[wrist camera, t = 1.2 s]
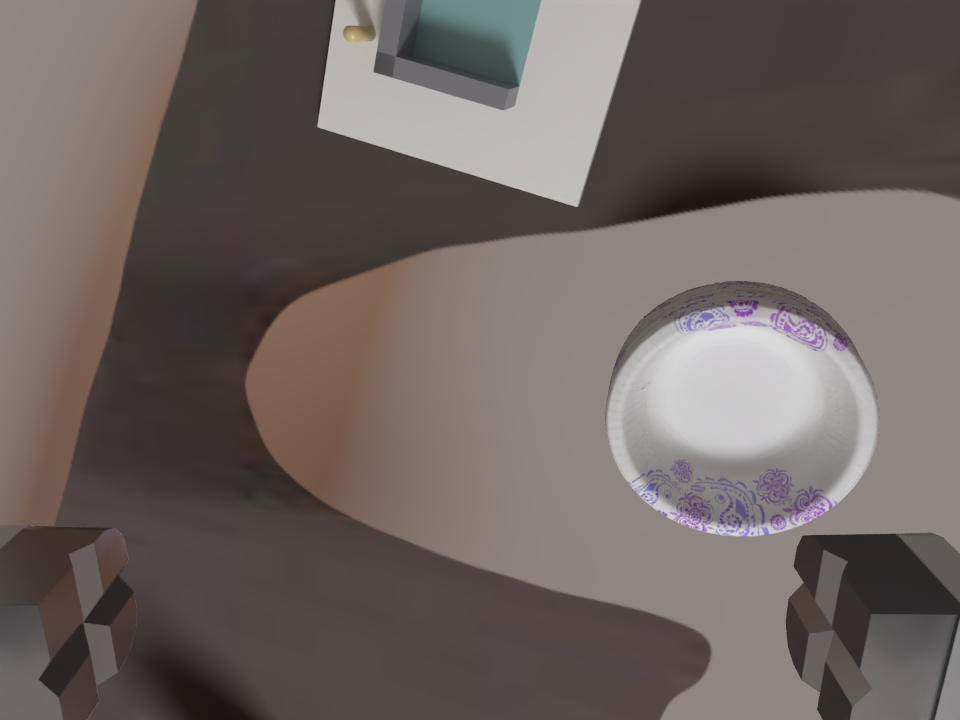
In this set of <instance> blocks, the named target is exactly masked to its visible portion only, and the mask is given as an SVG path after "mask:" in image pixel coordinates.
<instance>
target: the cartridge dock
mask: <svg viewBox="0 0 960 720" xmlns="http://www.w3.org/2000/svg"><path fill="white" fill-rule="evenodd" d="M641 1H642V0H336V2H335V9H334V16H333V22H332V29H331V36H330V43H329V50H328V57H327V64H326V71H325V78H324V85H323V92H322V99H321V106H320V113H319V120H318V127H319V128H322V129H325V130H329V131H332V132H335V133H338V134H342V135H345V136H348V137H351V138H355V139H358V140H361V141H364V142H368V143H371V144H374V145H377V146H381V147H384V148H387V149H390V150H394V151H397V152H400V153H403V154H407V155H410V156H413V157H416V158H420V159H423V160H426V161H429V162H432V163H436V164H439V165H442V166H445V167H449V168H452V169H455V170H458V171H462V172H465V173H468V174H471V175H475V176H478V177H481V178H484V179H488V180H491V181H494V182H497V183H501V184H504V185H507V186H510V187H514V188H517V189H520V190H523V191H527V192H530V193H533V194H536V195H540V196H543V197H546V198H549V199H553V200H556V201H559V202H562V203H566V204H569V205H572V206H575V207H578V205H579V204H580V201H581V197H582V194H583V191H584V188H585V184H586V181H587V178H588V175H589V171H590V168H591V165H592V161H593V158H594V155H595V152H596V148H597V145H598V142H599V139H600V135H601V132H602V129H603V126H604V122H605V119H606V116H607V112H608V109H609V106H610V103H611V99H612V96H613V93H614V90H615V86H616V83H617V80H618V77H619V73H620V70H621V67H622V63H623V60H624V57H625V54H626V50H627V47H628V44H629V41H630V37H631V34H632V31H633V28H634V24H635V21H636V18H637V14H638V11H639V8H640V5H641Z"/></svg>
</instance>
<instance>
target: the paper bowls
mask: <svg viewBox="0 0 960 720" xmlns="http://www.w3.org/2000/svg"><path fill="white" fill-rule="evenodd" d="M605 426H606V432H607V438H608V442H609V446H610V449H611V452H612V455H613V457H614V460H615V462H616V464H617V466H618V468H619V470H620V472H621V473H622V475H623V476H624V478H625V479H626V481H627V482H628V483H629V485H630V486H631V487H632V488H633V489H634V491H635V492H636V493H637V494H638V495H639V496H640V497H641V498H642V499H643V500H644V501H645V502H646V503H648V504H649V505H650V506H651V507H653V508H654V509H655V510H657V511H658V512H660V513H661V514H663V515H665V516H666V517H668V518H670V519H672V520H674V521H676V522H678V523H680V524H683V525H685V526H687V527H690V528H693V529H696V530H699V531H704V532H708V533H713V534H718V535H724V536H760V535H767V534H773V533H777V532H782V531H785V530H788V529H792V528H794V527H797V526H800V525H803V524H805V523H807V522H809V521H812V520H814V519H815V518H817V517H818V516H820V515H822V514H824V513H825V512H826V511H828V510H829V509H831V508H832V507H834V506H835V505H836V504H837V503H839V502H840V501H841V500H842V499H843V498H844V497H845V496H846V495H847V494H848V493H849V492H850V491H851V490H852V489H853V488H854V486H855V485H856V484H857V482H858V481H859V480H860V478H861V477H862V475H863V474H864V472H865V470H866V468H867V467H868V464H869V462H870V460H871V458H872V455H873V453H874V449H875V446H876V442H877V438H878V431H879V408H878V403H877V395H876V391H875V388H874V384H873V381H872V379H871V377H870V374H869V372H868V370H867V369H866V367H865V365H864V363H863V361H862V360H861V358H860V356H859V354H858V352H857V350H856V348H855V346H854V344H853V342H852V341H851V339H850V338H849V336H848V335H847V333H846V332H845V331H844V330H843V329H842V328H841V326H840V325H839V324H838V323H837V322H836V321H835V320H834V319H833V318H832V317H831V316H830V315H829V314H828V313H827V312H826V311H825V310H823V309H822V308H820V307H819V306H817V305H816V304H815V303H813V302H810V301H809V300H807V298H805V297H803V296H801V295H799V294H797V293H795V292H792V291H789V290H787V289H784V288H781V287H777V286H774V285H769V284H765V283H756V282H747V281H745V282H743V281H735V282H723V283H715V284H713V285H705V286H702V287H697V288H694V289H691V290H687V291H685V292H683V293H681V294H678V295H676V296H674V297H673V298H670V299H668V300H666V301H665V302H663V303H662V304H660V305H658V306H657V307H656V308H655V309H653V310H652V311H651V312H650V313H648V314H647V315H646V316H644V319H642V320H641V321H640V322H639V323H638V325H637V326H636V327H635V328H634V330H633V331H632V332H631V334H630V335H629V337H628V338H627V340H626V341H625V343H624V345H623V347H622V349H621V351H620V353H619V355H618V358H617V360H616V364H615V366H614V370H613V373H612V377H611V381H610V386H609V392H608V397H607V403H606V412H605Z"/></svg>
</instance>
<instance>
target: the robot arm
mask: <svg viewBox="0 0 960 720" xmlns="http://www.w3.org/2000/svg"><path fill="white" fill-rule="evenodd" d="M128 560H129V559H128V555H127V550H126V545H125V541H124V536H123V535H122V534H121V533H120V532H119V531H117V530H116V529H115V528H99V527H64V526H30V525H0V720H87V719H88V718H89V716H90V715H91V713H92V712H93V710H94V709H95V707H96V705H97V704H98V702H99V697H98V691H97V685H98V684H100V683H102V682H103V681H105V680H106V679H108V678H110V677H111V676H113V675H114V674H116V673H118V671H119V670H120V668H121V666H122V665H123V663H124V661H125V660H126V658H127V657H128V655H129V653H130V649H131V646H132V642H133V639H134V635H135V632H136V619H137V607H136V601H135V595H134V591H133V590H132V589H131V588H130V587H129V586H128V585H127V584H126V583H125V582H124V581H123V580H122V579H121V578H120V577H119V574H120V573H121V571H122V570H123V568H124V567H125V565H126V563H127V562H128ZM794 568H795V569H796V571H797V572H798V574H799V576H800V577H801V579H802V580H803V582H804V583H803V584H802V585H801V586H800V587H799V588H798V589H797V590H796V591H795V592H794V593H793V594H792V595H791V596H790V597H789V599H788V609H787V616H786V631H787V641H788V648H789V651H790V654H791V658H792V661H793V664H794V666H795V668H796V670H797V672H798V674H799V676H800V678H801V680H802V681H804V682H805V683H807V684H808V685H810V686H811V687H813V688H814V689H816V690H817V691H818V692H820V696H819V702H818V708H817V710H818V712H819V714H820V715H821V717H822V719H823V720H960V553H959V552H958V551H957V550H956V549H955V548H954V547H953V546H951V545H950V544H949V543H948V542H947V541H946V540H945V539H944V538H943V537H941V536H939V535H936V534H933V533H905V534H855V535H808V536H802V538H801V540H800V542H799V544H798V546H797V550H796V556H795V562H794Z"/></svg>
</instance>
